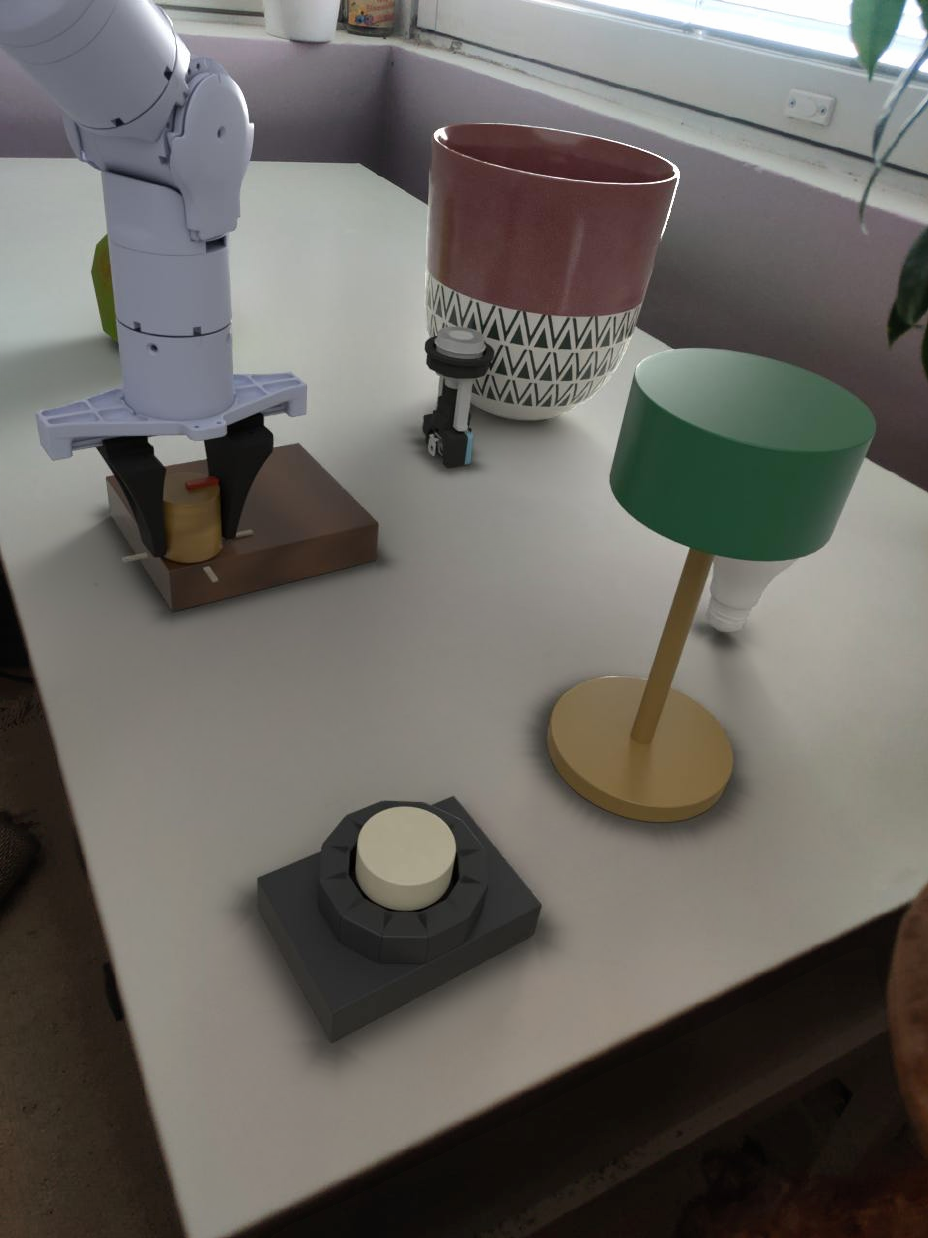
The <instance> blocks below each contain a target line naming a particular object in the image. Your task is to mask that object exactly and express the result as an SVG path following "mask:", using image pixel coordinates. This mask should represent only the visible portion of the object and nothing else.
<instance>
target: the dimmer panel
mask: <svg viewBox="0 0 928 1238" xmlns="http://www.w3.org/2000/svg"><path fill="white" fill-rule="evenodd" d="M164 466H165V468H166V469H167V470H166V475H165V476H167V475H170V474H174V473H183V472H189V473H198V474H203V475H206V476H209V475H208V465H207V458H205V459H198V460H193V461H187V462H181V463H176V464H170V465H164ZM105 484H106V493H107V499H108V508H109V515H110V517H111V518H112V519H113V521H114V523H115V525H116V526H117V528H118V529H119V531H120V532H121V533H122V535H123V537H124V539H125V540H126V542H127V543H128V544H129V545H128V546H130V548H131V549H132V551H133V552H134V554H132V555H128V556H123V557H121V559H122V561H123V563H129V562H134V561H138V560H139V562H140V563H141V565H142V567H143V568H144V570H145V571H146V573H147V575H148V576H149V578H150V579H151V580H152V582H153V584H154V585H155V587H156V588H157V590H158V592H159V593H160V594H161V596H162V598H163V599H164V600H165V603H166V604H167V606H168V608H170V610H171V612H178V611H182V610H186V609H189V608H194V607H197V606H202V605H205V604H209V603H214V602H217V601H221V600H226V599H229V598H233V597H237V596H240V595H245V594H248V593H249V594H250V593H253V592H257V591H260V590H264V589H269V588H273V587H276V586H281V585H285V584H288V583H293V582H296V581H300V580H304V579H308V578H312V577H316V576H320V575H324V574H327V573H332V572H336V571H340V570H343V569H347V568H351V567H355V566H359V565H364V564H368V563H371V562H375V561H377V553H378V542H379V541H378V540H379V528H380V523H379V521H378V520H377V519H376V518H375V517H374V516H373V515H371V513H370V512H369V511H368V510H367V509H366V508H365V507H364V506H363V505H361V503H360V502H359V501H358V500H357V499H356V498H354V496H353V495H352V494H351V493H350V492H349V491H348V490H347V489H346V488H345V487H344V485H343V486H342V484H341V483H340V482H339V481H338V480H337V479H336V478H335V477H334V476H333V475H332V474H331V473H330V472H329V471H328V470H327V469H326V468H325V467H324V466H323V465H322V464H321V463H320V462H319V461H318V460H317V459H316V458H315V457H314V456H313V455H312V454H311V453H310V452H309V451H308V450H307V449H306V448H305V447H304V446H303V445H302V444H301V443H300V442H296V443H291V444H285V445H279V446H273V452H272V453H271V454H270V456H269V457H268V458H267V460H266V461H265V463H264V464H263V466H262V467H261V469H260V470H259V472H258V474H257V476H256V478H255V480H254V482H253V484H252V486H251V488H250V490H249V493H248V496H247V498H246V501H245V504H244V507H243V510H242V514H241V517H240V521H239V525H238V529H237V534H236V537H235V538H233V539H229V540H225V539H224V537H223V536H222V548H221V550H220V552H219V553H218V554H217V555H216V556H214V557H213V558H211V559H208V560H206V561H202V562H196V563H180V562H175V561H172V560H169V559H167V558H165V557H164V556H161V557H157V558H155V557H153V556H152V554H151V553H150V552H149V551H148V549H147V548H146V547H145V545H144V544H143V543H142V540H141V536H140V532H139V529H138V526H137V523H136V520H135V517H134V515H133V512H132V510H131V507H130V505H129V503H128V501H127V499H126V497H125V495H124V493H123V491H122V489H121V487H120V485H119V483H118V481H117V480H116V478H115V476H114V475H113V474H112V475H107V476H105Z"/></svg>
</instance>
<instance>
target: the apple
mask: <svg viewBox="0 0 928 1238" xmlns="http://www.w3.org/2000/svg"><path fill="white" fill-rule="evenodd" d="M90 269H91V270H90V275H91V279H92V283H93V284H92V285H93V288H94V294H95V298H96V304H97V309H98V312H99V317H100V323H101V327H102V331H103V332H104V333H105V334H106V335H107V336H108V337H109V338H110V339H112V340H113V341H115V342H117V343H118V334H117V324H116V313H115V303H114V293H113V284H112V274H111V264H110V255H109V245H108V235H107V233H106V234H104V236H103V237H102V238H101V239H100V240H99V241H98V242H97V243H96V244H95V249H94V255H93V259H92V265H91V268H90Z"/></svg>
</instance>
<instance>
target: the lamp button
mask: <svg viewBox="0 0 928 1238" xmlns="http://www.w3.org/2000/svg"><path fill="white" fill-rule="evenodd" d="M455 854H456V843H455V839H454V836H453V834H452V832H451V830H450V829H449V827H448V826H447V825H446V824H445V822H444V821H442V820H441V819H440V818H439V817H437V816H436V815H434V814H432V813H431V812H428V811H426V810H423V809H420V808H415V807H394V808H389V809H386V810H383V811H381V812H379V813H377V814H376V815H374V816H373V817H371V818H370V819H369V820H368V821H367V822H366V823H365V824H364V826H363V827H362V829H361V831H360V833H359V837H358V842H357V854H356V866H355V872H356V878H357V881H358V884H359V885H360V887H361V889H362V890H363V892H364V893H365V894H366V895H367V896H368V897H369V898H370V899H371V900H372V901H374V902H375V903H377V904H379V905H381V906H383V907H385V908H388V909H392V910H397V911H413V910H419V909H422V908H425V907H427V906H429V905H431V904H433V903H435V902H436V901H437V900H439V899H440V898H441V897H442V896H443V894H444V893H445V892H446V890H447V889H448V887H449V884H450V881H451V876H452V871H453V865H454V859H455Z"/></svg>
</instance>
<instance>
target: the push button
mask: <svg viewBox="0 0 928 1238" xmlns="http://www.w3.org/2000/svg"><path fill="white" fill-rule="evenodd" d="M484 340H485V337H484V336H483V335H482V333H480V332H478V331H476V330H474V329H470V328H466V327H457V326H450V327H445V328H441V329H440V330H439V332H438V336H434V337H431V338H429V337H428V339H427V340H425V342H424V352H425V353H426V361H425V364H426V366H427V367H428V369H429V370H430V371H433V372H435V375H437V376H439V379H438V380H439V381H438V390H437V398H436V405H435V409H433V410H432V411H431V412H432V413H426V414H424V415H422V416H421V419H422V425H421V426H420V429H421V430H422V433H423V435H424V437H425V438H424V441H425V444H426V445H427V451H428V453H429V455H431V456H432V457H435V456H436V455H437V456H438V457H439V458H440V459H441V463H442V465H443V466H444V467H445V468H454V467H459V466H466V465H471V462H472V452H473V446H474V445H473V444H474V435H473V433H472V432H473V429H472V428H471V419H472V413H471V412H470V407H471V403H470V399H471V392H472V384H473V382H474V381H475V380H476V379H477V378H479V377H482V376H485V374H486V372H487V371H488V369H489V364H490V362H491V361H492V360H493V358H494V349H493V348H492V347H491V346H490V345H489V344H487V343H485V342H484Z"/></svg>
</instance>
